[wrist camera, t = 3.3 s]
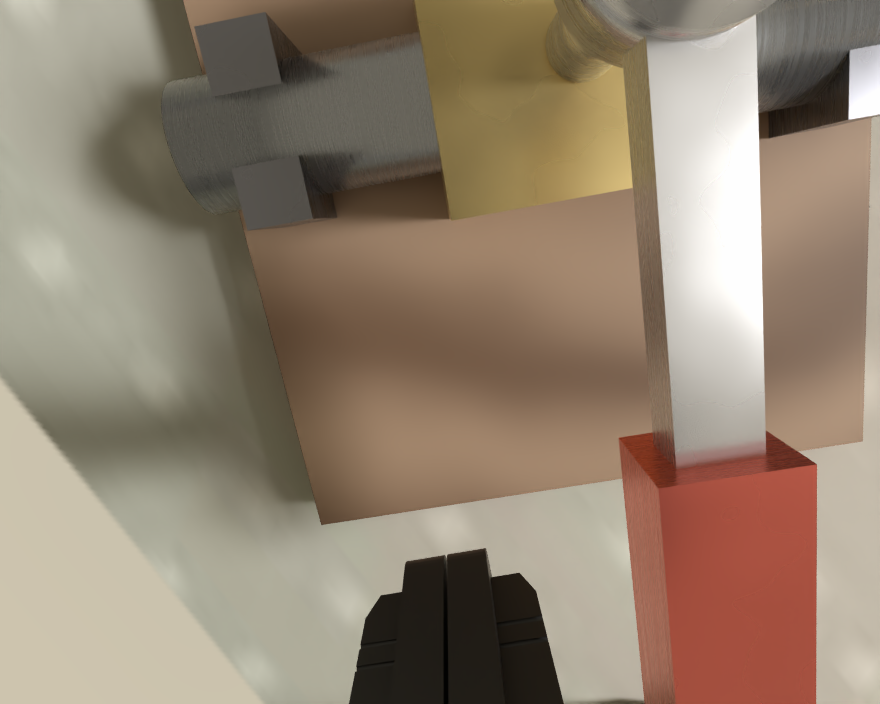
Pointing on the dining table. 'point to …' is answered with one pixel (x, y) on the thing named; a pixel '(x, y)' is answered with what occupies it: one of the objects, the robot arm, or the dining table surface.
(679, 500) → the valve lever
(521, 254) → the valve board
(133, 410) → the dining table surface
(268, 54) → the pipe valve
